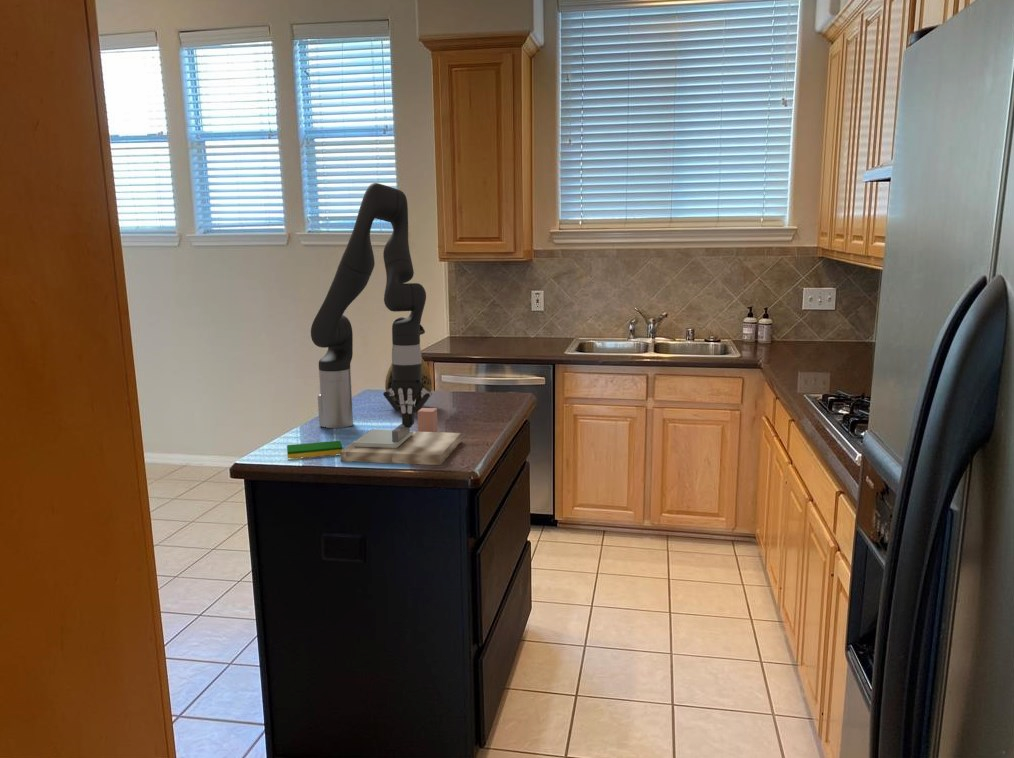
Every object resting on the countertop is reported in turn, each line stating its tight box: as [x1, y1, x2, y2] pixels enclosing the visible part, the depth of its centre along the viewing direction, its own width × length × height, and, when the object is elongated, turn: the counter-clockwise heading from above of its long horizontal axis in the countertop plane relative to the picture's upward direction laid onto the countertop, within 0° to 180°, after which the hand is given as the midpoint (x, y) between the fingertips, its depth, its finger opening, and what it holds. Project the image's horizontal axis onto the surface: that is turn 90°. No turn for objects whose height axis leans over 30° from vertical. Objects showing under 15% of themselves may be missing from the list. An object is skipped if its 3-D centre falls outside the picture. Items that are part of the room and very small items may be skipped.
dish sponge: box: [286, 440, 344, 459], centre depth 196 cm, size 7×14×2 cm, turn 107°
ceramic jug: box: [384, 317, 433, 406], centre depth 246 cm, size 17×15×30 cm
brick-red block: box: [417, 407, 439, 432], centre depth 215 cm, size 4×4×7 cm
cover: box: [353, 423, 413, 448], centre depth 197 cm, size 12×14×4 cm
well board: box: [339, 429, 462, 466], centre depth 197 cm, size 26×22×2 cm
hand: (408, 426), depth 196 cm, fingers closed
